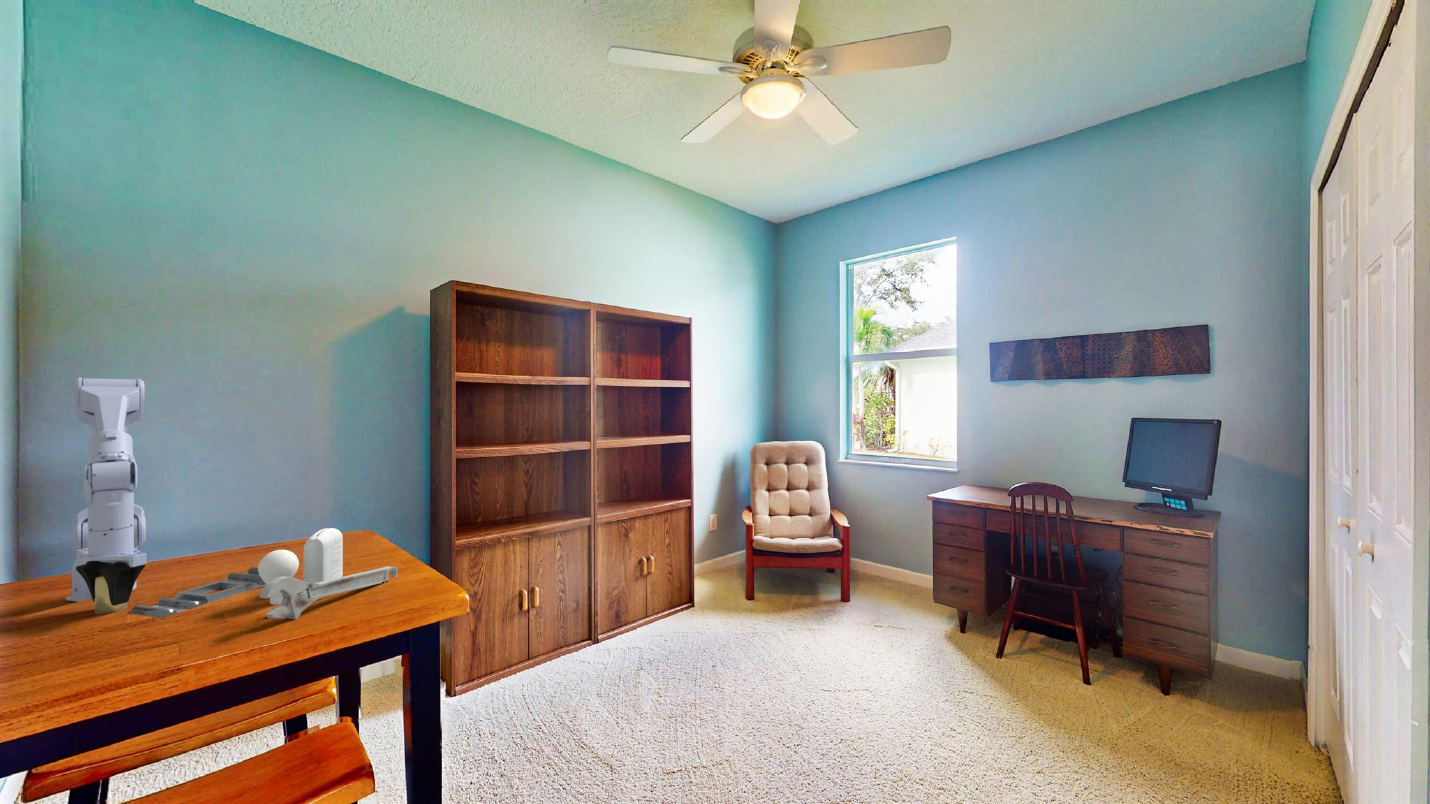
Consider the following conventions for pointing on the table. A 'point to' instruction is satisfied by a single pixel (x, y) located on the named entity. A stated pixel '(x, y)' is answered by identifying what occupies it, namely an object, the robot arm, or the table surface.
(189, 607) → the steel chain end
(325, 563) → the photo printer
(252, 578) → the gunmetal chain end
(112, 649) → the table surface
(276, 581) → the wrench
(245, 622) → the table surface
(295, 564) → the lightbulb
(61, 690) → the table surface
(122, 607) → the brass pin
